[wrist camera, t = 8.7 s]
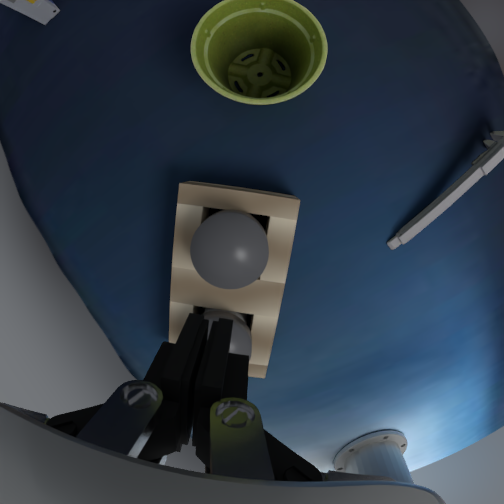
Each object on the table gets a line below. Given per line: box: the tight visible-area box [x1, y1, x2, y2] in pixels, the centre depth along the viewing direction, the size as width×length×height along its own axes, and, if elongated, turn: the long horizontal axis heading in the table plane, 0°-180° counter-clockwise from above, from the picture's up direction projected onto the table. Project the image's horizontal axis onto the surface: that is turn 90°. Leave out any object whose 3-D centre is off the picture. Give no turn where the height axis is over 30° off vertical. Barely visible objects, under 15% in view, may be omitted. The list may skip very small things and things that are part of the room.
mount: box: [169, 181, 300, 378], centre depth 29 cm, size 18×10×4 cm, turn 172°
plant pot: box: [191, 0, 328, 105], centre depth 21 cm, size 9×9×9 cm
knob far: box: [201, 307, 252, 361], centre depth 29 cm, size 6×6×6 cm
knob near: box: [190, 209, 269, 289], centre depth 26 cm, size 6×6×6 cm
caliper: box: [387, 131, 504, 250], centre depth 25 cm, size 20×1×6 cm, turn 134°
